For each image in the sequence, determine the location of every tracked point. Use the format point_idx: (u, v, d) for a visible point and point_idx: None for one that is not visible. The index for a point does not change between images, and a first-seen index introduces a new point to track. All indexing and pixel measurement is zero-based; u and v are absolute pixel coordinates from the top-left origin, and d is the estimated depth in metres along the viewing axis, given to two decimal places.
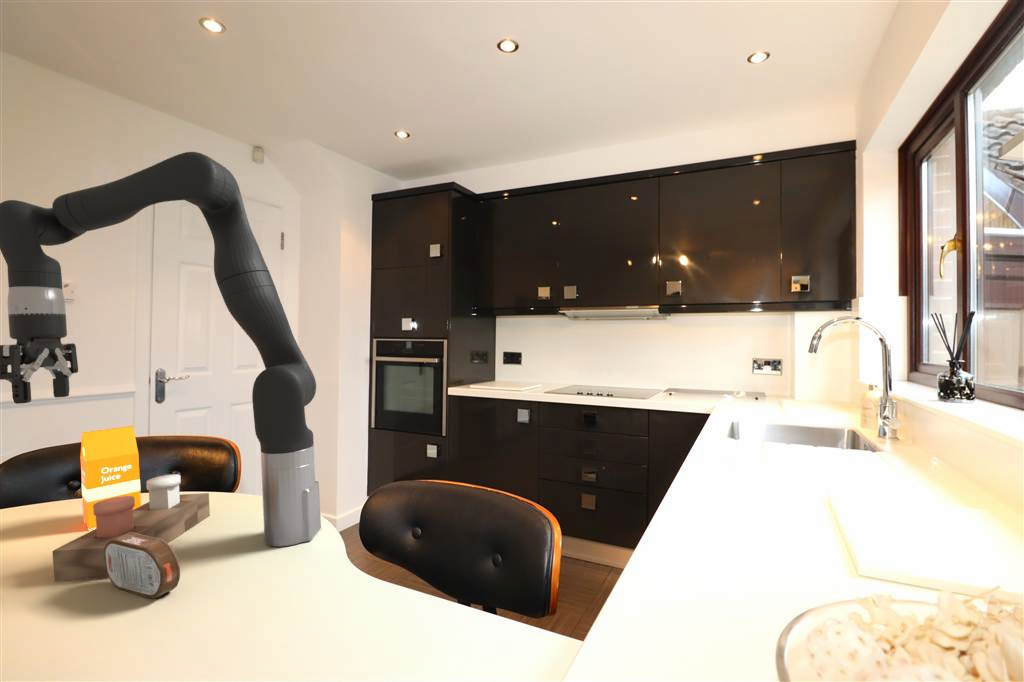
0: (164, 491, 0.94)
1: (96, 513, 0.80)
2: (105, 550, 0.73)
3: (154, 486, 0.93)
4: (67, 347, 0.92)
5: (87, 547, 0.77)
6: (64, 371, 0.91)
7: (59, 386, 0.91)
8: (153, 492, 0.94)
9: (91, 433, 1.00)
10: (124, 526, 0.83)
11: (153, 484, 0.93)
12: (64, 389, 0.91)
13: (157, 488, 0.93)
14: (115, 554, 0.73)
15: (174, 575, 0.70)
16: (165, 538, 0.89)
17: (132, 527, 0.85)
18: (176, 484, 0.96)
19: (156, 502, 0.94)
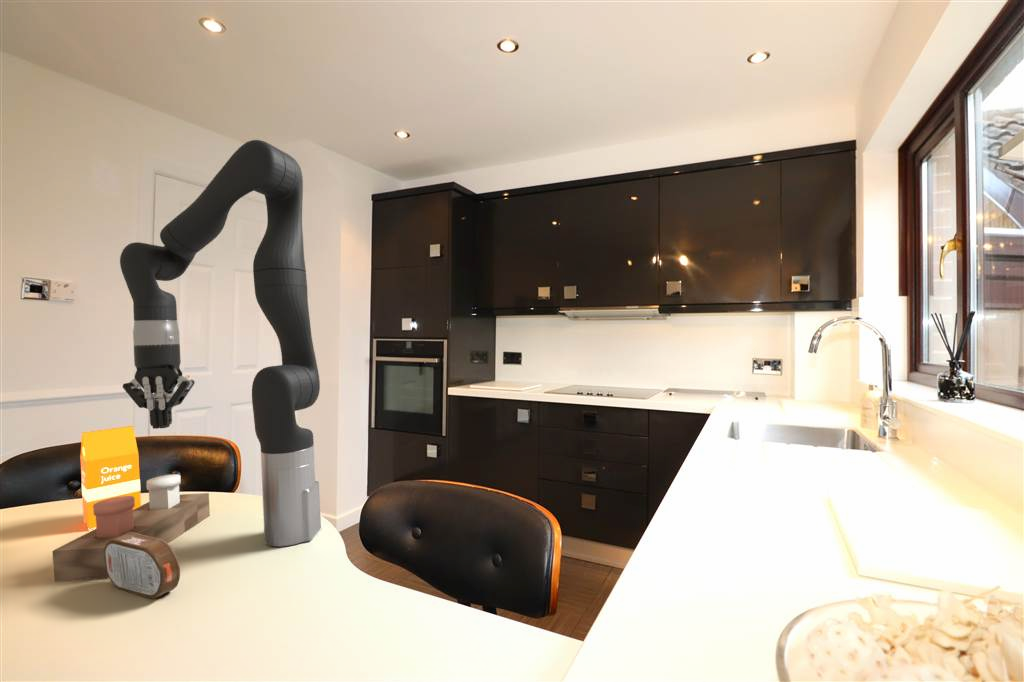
0: (164, 491, 0.94)
1: (96, 513, 0.80)
2: (105, 550, 0.73)
3: (154, 486, 0.93)
4: None
5: (87, 547, 0.77)
6: None
7: None
8: (153, 492, 0.94)
9: (91, 433, 1.00)
10: (124, 526, 0.83)
11: (153, 484, 0.93)
12: None
13: (157, 488, 0.93)
14: (114, 554, 0.73)
15: (174, 575, 0.70)
16: (165, 538, 0.89)
17: (132, 527, 0.85)
18: (176, 484, 0.96)
19: (156, 502, 0.94)
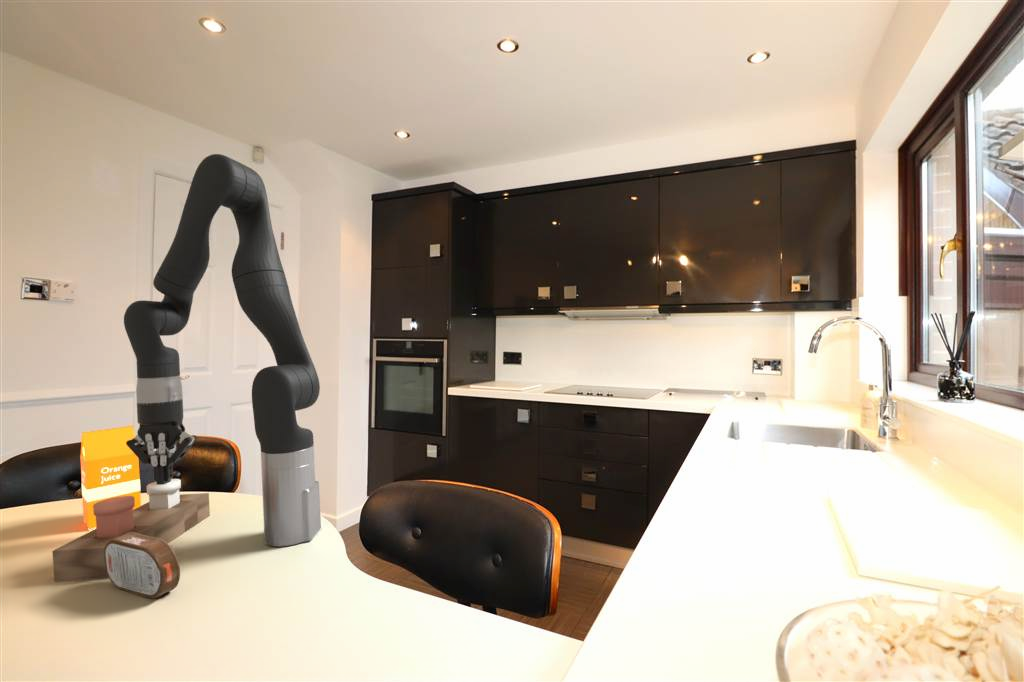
0: (164, 496, 0.94)
1: (96, 513, 0.80)
2: (106, 550, 0.73)
3: (154, 490, 0.93)
4: None
5: (87, 547, 0.77)
6: None
7: None
8: (153, 497, 0.94)
9: (91, 433, 1.00)
10: (124, 526, 0.83)
11: (153, 489, 0.93)
12: None
13: (157, 493, 0.93)
14: (115, 554, 0.73)
15: (174, 575, 0.70)
16: (165, 538, 0.89)
17: (132, 527, 0.85)
18: (176, 489, 0.96)
19: (156, 507, 0.94)
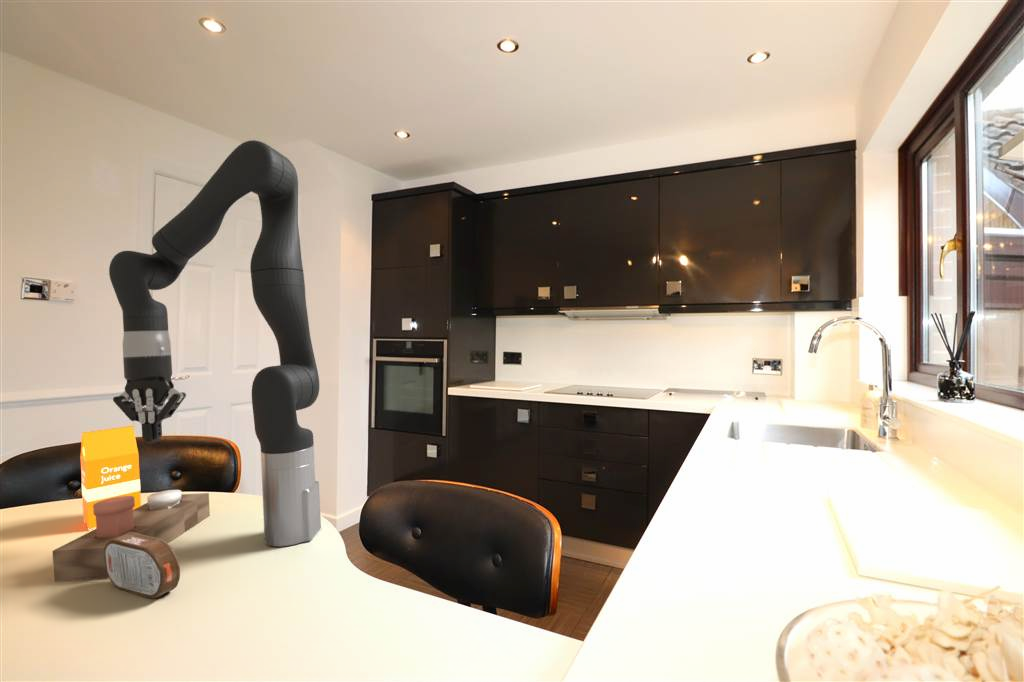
0: (164, 507, 0.94)
1: (96, 513, 0.80)
2: (105, 550, 0.73)
3: (155, 502, 0.93)
4: None
5: (87, 547, 0.77)
6: None
7: None
8: (154, 508, 0.94)
9: (91, 433, 1.00)
10: (124, 526, 0.83)
11: (154, 500, 0.93)
12: None
13: (158, 504, 0.93)
14: (114, 554, 0.73)
15: (174, 575, 0.70)
16: (165, 538, 0.89)
17: (132, 527, 0.85)
18: (177, 500, 0.96)
19: None
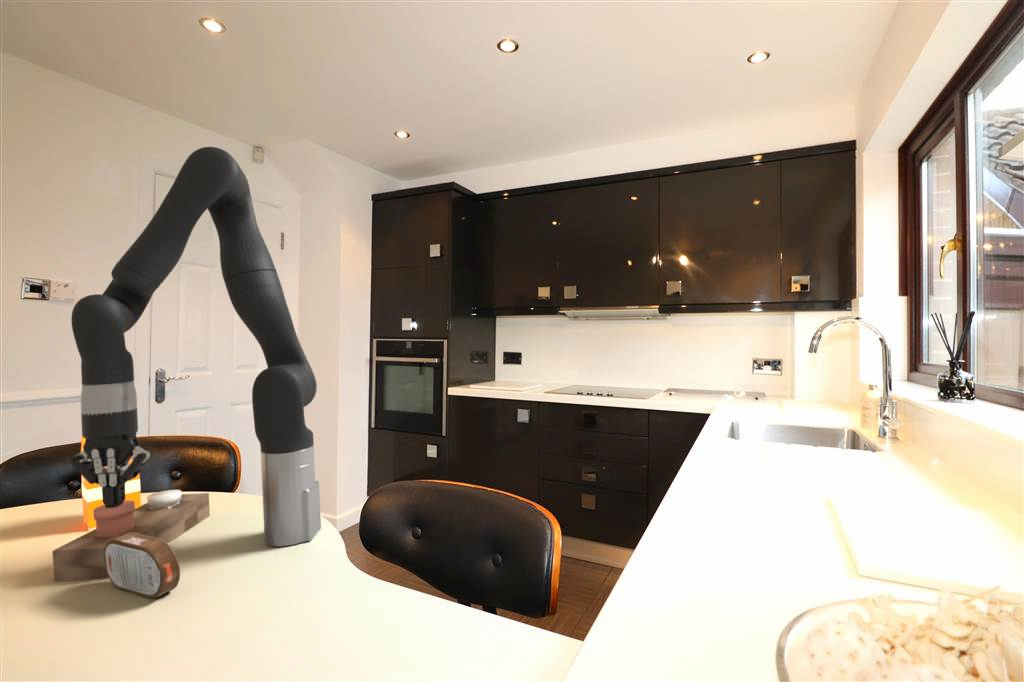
0: (164, 507, 0.94)
1: (96, 518, 0.80)
2: (105, 550, 0.73)
3: (155, 502, 0.93)
4: None
5: (87, 547, 0.77)
6: None
7: None
8: (154, 508, 0.94)
9: None
10: (124, 530, 0.83)
11: (154, 500, 0.93)
12: None
13: (158, 504, 0.93)
14: (115, 554, 0.73)
15: (174, 575, 0.70)
16: (165, 538, 0.89)
17: None
18: (177, 500, 0.96)
19: None
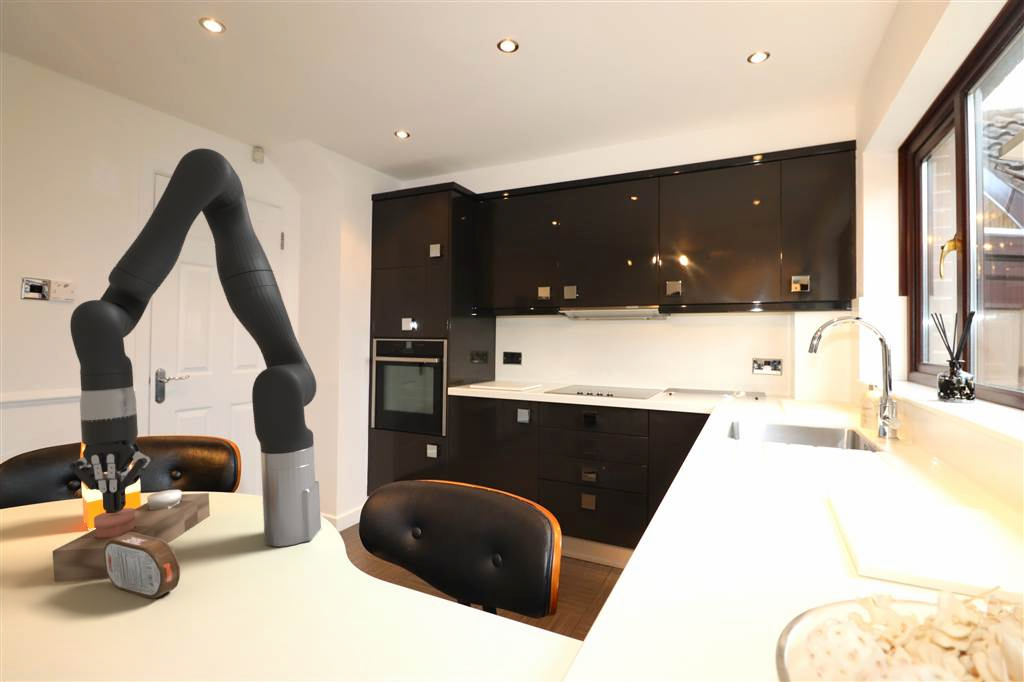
0: (164, 507, 0.94)
1: (96, 526, 0.80)
2: (105, 550, 0.73)
3: (155, 502, 0.93)
4: None
5: (87, 547, 0.77)
6: None
7: None
8: (154, 508, 0.94)
9: None
10: None
11: (154, 500, 0.93)
12: None
13: (158, 504, 0.93)
14: (114, 554, 0.73)
15: (174, 575, 0.70)
16: (165, 538, 0.89)
17: None
18: (177, 500, 0.96)
19: None
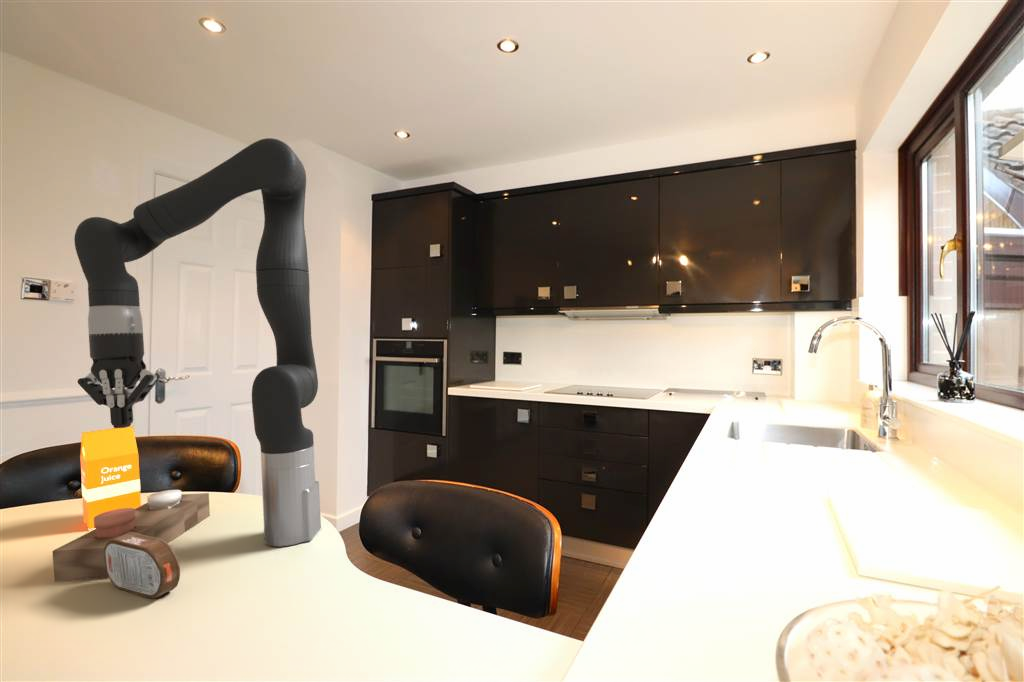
0: (164, 507, 0.94)
1: (96, 526, 0.80)
2: (105, 550, 0.73)
3: (155, 502, 0.93)
4: None
5: (87, 547, 0.77)
6: None
7: None
8: (154, 508, 0.94)
9: (91, 433, 1.00)
10: None
11: (154, 500, 0.93)
12: None
13: (158, 504, 0.93)
14: (114, 554, 0.73)
15: (174, 575, 0.70)
16: (165, 538, 0.89)
17: None
18: (177, 500, 0.96)
19: None
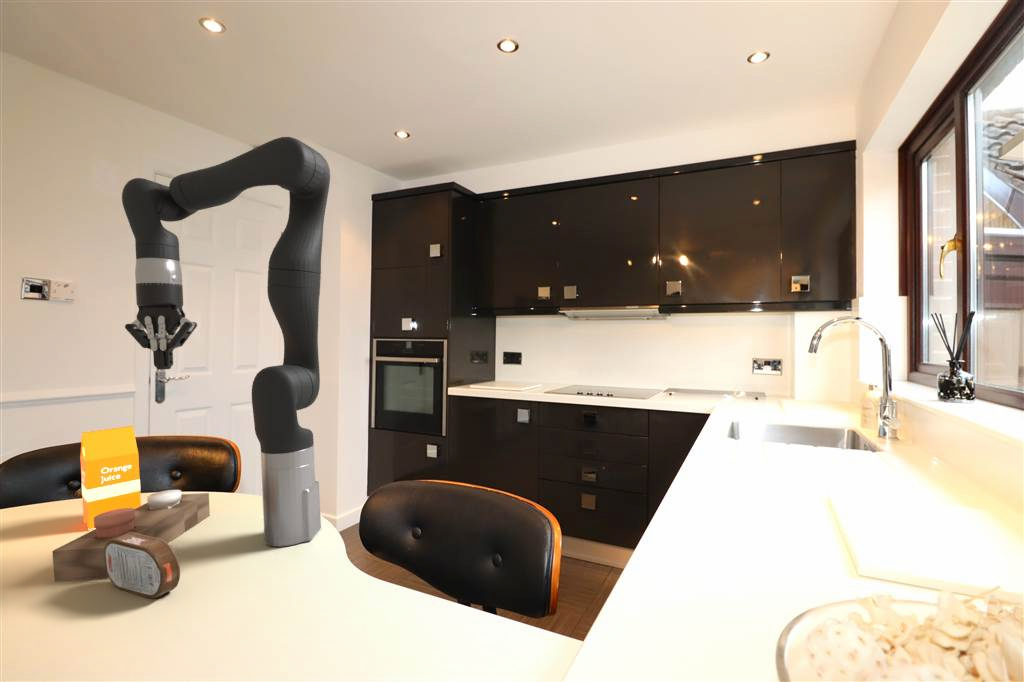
0: (164, 507, 0.94)
1: (96, 526, 0.80)
2: (106, 550, 0.73)
3: (155, 502, 0.93)
4: None
5: (87, 547, 0.77)
6: None
7: None
8: (154, 508, 0.94)
9: (91, 433, 1.00)
10: None
11: (154, 500, 0.93)
12: None
13: (158, 504, 0.93)
14: (115, 554, 0.73)
15: (174, 575, 0.70)
16: (165, 538, 0.89)
17: None
18: (177, 500, 0.96)
19: None
